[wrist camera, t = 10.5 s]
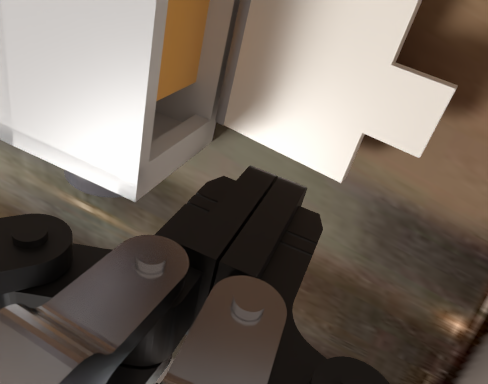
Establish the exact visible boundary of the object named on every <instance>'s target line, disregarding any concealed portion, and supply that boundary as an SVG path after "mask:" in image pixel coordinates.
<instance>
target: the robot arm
mask: <svg viewBox="0 0 488 384" xmlns="http://www.w3.org/2000/svg"><path fill="white" fill-rule="evenodd" d="M306 190H307V187H305V186H302V185H300V184H297V183H295V182H292V181H289V180H287V179H284V178H282V177H278V176H276V175H274V174H271V173H269V172H266V171H264V170H261V169H258V168H256V167H253V166H249V167H248V168H247V169H246V170H245V171H244V172H243V174H242V175H241V176H240V177H239V178H238V179H237V180H236V181H235V180H233V179H230V178H228V177H225V176H222V177H219V178H217V179H214V180H211V181H209V182H207V183H206V184H205V185H204V186H203V187H202V188H201V189H200V190H199V191H198V192H197V193H196V195H194V196H193V197H192V198H191V199H190V200H189V201H188V203H187V204H185V205H184V206H183V207H182V208H181V209H180V210H179V211H178V212H177V213H176V214H175V215H174V216H173V217H172V218H171V219H170V220H169V221H168V222H167V223H166V224H165V225H164V226H163V227H162V228H161V229H160V230H159V231H158V232H157V233H156V234H155V235H141V236H136V237H133V238H130V239H128V240H126V241H124V242H123V243H121V244H120V245H119V246H117V247H116V248H115V249H114V250H111V249H102V248H97V247H91V246H85V245H80V244H74V243H73V240H72V231H71V229H70V227H69V226H68V225H67V223H65V222H64V221H63V220H61V219H59V218H57V217H54V216H50V215H46V214H25V215H18V216H11V217H4V218H0V384H155V382H156V381H157V380H158V378H159V377H160V376H161V375H162V373H163V372H164V371H165V369H166V368H167V367H168V365H169V363H170V361H171V359H172V354H173V352H174V350H175V349H176V347H177V346H178V344H179V343H180V341H181V340H182V338H183V337H184V335H185V334H186V335H187V337H186V339H185V341H184V342H183V344H182V346H181V348H180V350H179V352H178V354H177V356H176V357H175V359H174V361H173V363H172V365H171V367H170V369H169V371H168V372H167V374H166V376H165V378H164V379H163V381H162V382H161V383H160V384H389V382H388V381H387V380H386V379H385V378H384V377H383V376H382V375H381V374H380V373H379V372H378V371H377V370H376V369H374V368H373V367H371V366H370V365H368V364H366V363H365V362H362V361H360V360H358V359H354V358H351V357H343V356H342V357H333V358H329V359H326V358H325V357H324V356H323V355H321V354H320V353H319V352H318V351H317V350H315V349H314V348H313V347H312V346H311V345H310V344H309V343H308V342H307V341H306V340H305V339H304V338H303V337H302V335H301V334H300V332H299V331H298V329H297V327H296V325H295V322H294V319H293V314H292V307H293V302H294V299H295V297H296V294H297V292H298V290H299V287H300V285H301V282H302V280H303V277H304V275H305V272H306V270H307V267H308V265H309V262H310V260H311V258H312V255H313V253H314V250H315V248H316V245H317V243H318V240H319V238H320V235H321V233H322V230H323V227H322V223H321V219H320V215H319V214H318V213H315V212H313V211H310V210H308V209H305V208H303V207H301V205H302V202H303V199H304V196H305V193H306ZM156 384H158V383H156Z"/></svg>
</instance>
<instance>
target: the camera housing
mask: <svg viewBox="0 0 488 384" xmlns="http://www.w3.org/2000/svg"><path fill="white" fill-rule="evenodd" d="M239 3H240V0H0V140H2V141H4V142H6V143H8V144H11V145H13V146H15V147H17V148H19V149H21V150H24V151H26V152H28V153H30V154H32V155H34V156H37V157H39V158H41V159H43V160H45V161H47V162H50V163H52V164H54V165H56V166H58V167H60V168H63V169H64V174H65V177H66V179H67V181H68V182H69V183H70V184H71V185H72V186H74V187H75V188H76V189H78V190H80V191H82V192H85V193H88V194H91V195H95V196H101V197H125V198H128V199H130V200H132V201H134V202H136V201H137V200H138V199H140V198H141V197H142V196H144V195H145V194H146V193H147V192H149V191H150V190H151V189H152V188H154V187H155V186H156V185H158V184H159V183H160V182H161V181H163V180H164V179H165V178H166V177H168V176H169V175H170V174H172V173H173V172H174V171H175V170H177V169H178V168H179V167H180V166H182V165H183V164H184V163H185V162H187V161H188V160H189V159H191V158H192V157H193V156H194V155H196V154H197V153H198V152H199V151H201V150H202V149H203V148H205V147H206V146H207V145H208V144H210V143H211V142H212V140H213V135H214V130H215V125H216V121H215V119H216V114H217V109H218V104H219V99H220V95H221V90H222V85H223V80H224V75H225V70H226V66H227V61H228V56H229V51H230V46H231V41H232V37H233V32H234V27H235V22H236V17H237V12H238V8H239Z"/></svg>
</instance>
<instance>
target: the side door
mask: <svg viewBox="0 0 488 384" xmlns="http://www.w3.org/2000/svg"><path fill="white" fill-rule="evenodd" d="M421 2H422V0H240V3H239V8H238V12H237V17H236V22H235V27H234V32H233V37H232V41H231V46H230V51H229V56H228V61H227V66H226V70H225V75H224V80H223V85H222V90H221V95H220V99H219V104H218V109H217V114H216V119H215V121H216V122H217V123H219V124H221V125H224V126H226V127H229V128H231V129H233V130H235V131H237V132H239V133H241V134H243V135H245V136H247V137H249V138H251V139H253V140H255V141H257V142H259V143H261V144H263V145H265V146H267V147H269V148H271V149H273V150H275V151H277V152H279V153H281V154H283V155H285V156H287V157H289V158H291V159H293V160H295V161H297V162H299V163H301V164H303V165H306V166H308V167H310V168H312V169H314V170H316V171H318V172H320V173H322V174H324V175H326V176H328V177H330V178H332V179H334V180H336V181H338V182H340V183H341V182H342V181H343V180H344V179H345V178H346V177H347V175H348V172H349V170H350V168H351V165H352V163H353V161H354V158H355V156H356V154H357V151H358V149H359V147H360V144H361V142H362V140H363V137H364V135H365V134H366V135H368V136H371V137H373V138H375V139H377V140H380V141H382V142H384V143H386V144H389V145H391V146H393V147H395V148H398V149H400V150H402V151H405V152H407V153H409V154H411V155H414V156H416V157H418V158H420V157H421V155H422V153H423V152H424V150H425V148H426V146H427V144H428V142H429V140H430V138H431V136H432V135H433V133H434V131H435V129H436V127H437V125H438V123H439V121H440V119H441V118H442V116H443V114H444V112H445V110H446V108H447V106H448V104H449V102H450V100H451V99H452V97H453V95H454V93H455V91H456V89H457V87H458V85H456V84H453V83H450V82H448V81H445V80H442V79H439V78H437V77H434V76H431V75H429V74H426V73H423V72H420V71H418V70H415V69H412V68H410V67H407V66H404V65H401V64H399V63H396V60H397V58H398V56H399V53H400V51H401V49H402V46H403V44H404V42H405V39H406V37H407V35H408V32H409V30H410V28H411V25H412V23H413V21H414V18H415V16H416V14H417V11H418V9H419V7H420V4H421Z"/></svg>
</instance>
